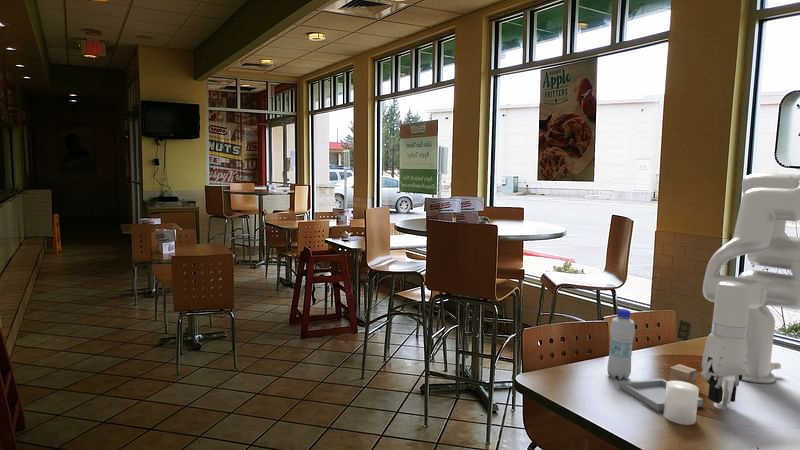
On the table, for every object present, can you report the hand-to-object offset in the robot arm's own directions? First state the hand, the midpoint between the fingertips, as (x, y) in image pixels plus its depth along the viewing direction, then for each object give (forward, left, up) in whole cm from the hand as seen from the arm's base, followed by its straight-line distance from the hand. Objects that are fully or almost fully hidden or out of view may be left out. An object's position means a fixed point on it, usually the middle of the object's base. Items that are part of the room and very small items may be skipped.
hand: (721, 399), depth 142 cm
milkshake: (0, 0, -2) cm, 2 cm away
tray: (+12, -8, -2) cm, 15 cm away
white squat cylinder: (+16, +3, -2) cm, 16 cm away
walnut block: (-1, -14, -2) cm, 14 cm away
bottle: (+13, -23, -2) cm, 27 cm away
